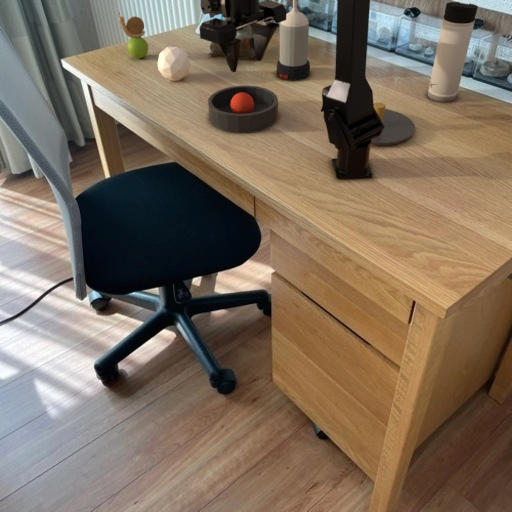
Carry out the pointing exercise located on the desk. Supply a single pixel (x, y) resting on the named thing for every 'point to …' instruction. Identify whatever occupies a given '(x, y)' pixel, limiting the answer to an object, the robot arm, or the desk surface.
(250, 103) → the ball
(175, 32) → the desk surface
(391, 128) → the flat gray disc
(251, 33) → the lucky cat figurine
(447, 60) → the travel mug
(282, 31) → the humidifier
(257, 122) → the black round open container
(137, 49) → the snail figurine
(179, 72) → the geometric ball
